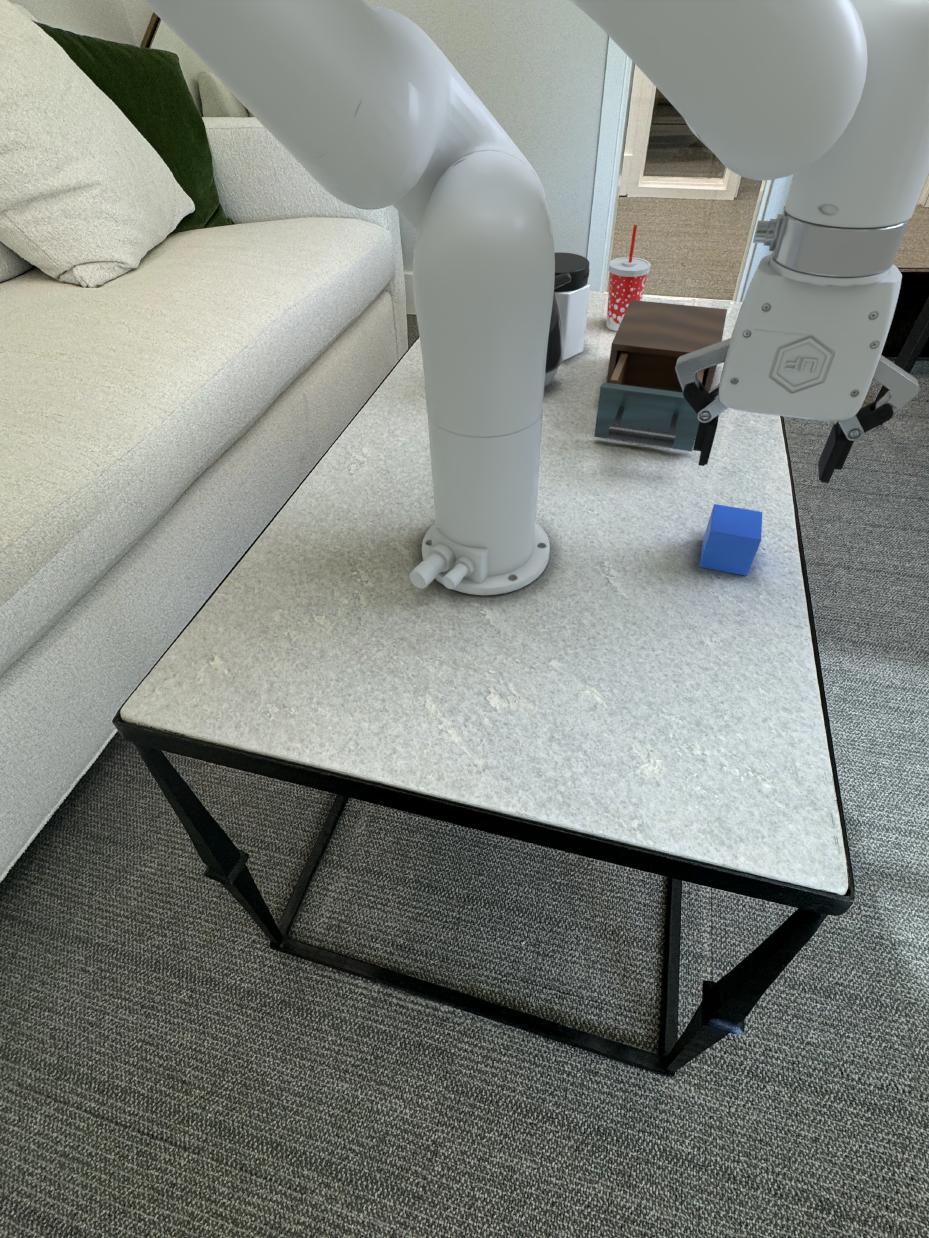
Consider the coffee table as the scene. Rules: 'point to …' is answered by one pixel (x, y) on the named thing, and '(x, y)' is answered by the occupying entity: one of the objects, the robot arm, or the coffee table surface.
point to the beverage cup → (625, 284)
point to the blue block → (731, 539)
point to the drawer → (646, 404)
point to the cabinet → (667, 332)
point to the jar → (572, 301)
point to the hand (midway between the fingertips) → (761, 465)
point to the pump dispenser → (555, 334)
